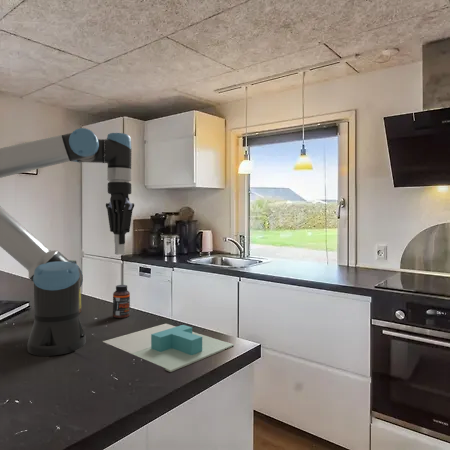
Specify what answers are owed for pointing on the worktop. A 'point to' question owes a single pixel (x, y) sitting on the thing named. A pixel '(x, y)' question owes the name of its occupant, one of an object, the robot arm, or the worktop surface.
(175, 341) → the t block
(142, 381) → the worktop surface
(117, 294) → the supplement bottle
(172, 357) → the board
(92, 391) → the worktop surface
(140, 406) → the worktop surface
